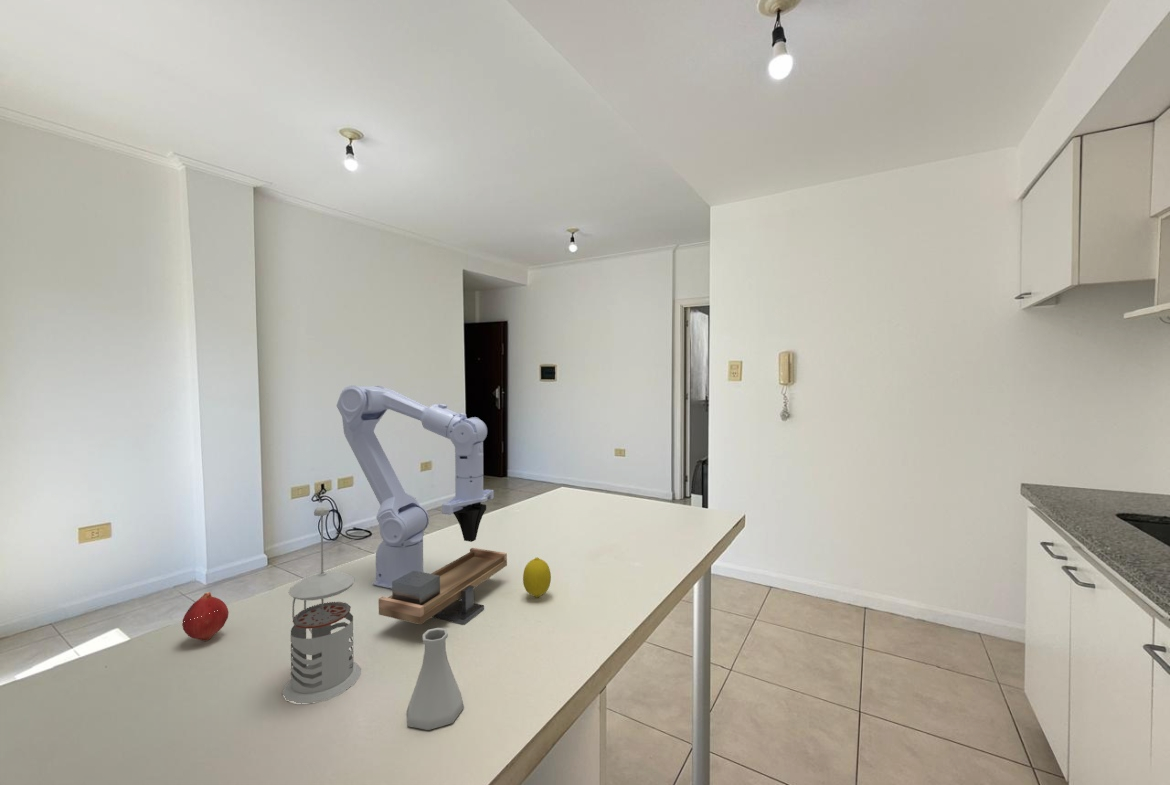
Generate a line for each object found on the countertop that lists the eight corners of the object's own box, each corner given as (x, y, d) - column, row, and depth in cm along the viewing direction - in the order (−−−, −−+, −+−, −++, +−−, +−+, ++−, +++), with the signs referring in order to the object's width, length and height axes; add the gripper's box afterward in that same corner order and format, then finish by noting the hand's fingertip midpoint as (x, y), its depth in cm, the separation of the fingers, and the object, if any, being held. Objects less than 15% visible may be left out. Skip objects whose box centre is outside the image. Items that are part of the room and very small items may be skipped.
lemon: (546, 605, 87) (546, 563, 87) (519, 602, 88) (518, 561, 88) (554, 592, 92) (554, 553, 92) (528, 590, 93) (528, 551, 93)
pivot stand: (403, 610, 85) (402, 584, 85) (425, 597, 90) (425, 572, 90) (464, 624, 80) (463, 596, 80) (484, 609, 85) (483, 583, 85)
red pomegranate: (177, 654, 71) (177, 603, 71) (189, 636, 76) (188, 589, 76) (223, 644, 74) (223, 595, 74) (232, 627, 79) (231, 582, 79)
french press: (304, 714, 58) (302, 519, 57) (262, 684, 64) (260, 507, 64) (375, 673, 66) (374, 503, 66) (332, 649, 72) (330, 493, 72)
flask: (414, 694, 61) (414, 621, 61) (468, 690, 62) (468, 618, 62) (397, 734, 54) (396, 651, 54) (458, 730, 55) (458, 648, 55)
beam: (377, 617, 77) (377, 598, 77) (471, 562, 101) (471, 547, 101) (421, 628, 73) (421, 608, 73) (507, 568, 97) (507, 553, 97)
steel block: (392, 604, 77) (392, 581, 77) (413, 592, 82) (413, 570, 82) (419, 611, 75) (419, 587, 75) (440, 597, 80) (439, 575, 80)
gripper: (462, 483, 86) (462, 554, 86) (504, 471, 100) (505, 532, 100) (433, 481, 89) (434, 549, 89) (478, 469, 103) (479, 528, 103)
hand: (469, 540), depth 95 cm, fingers closed
